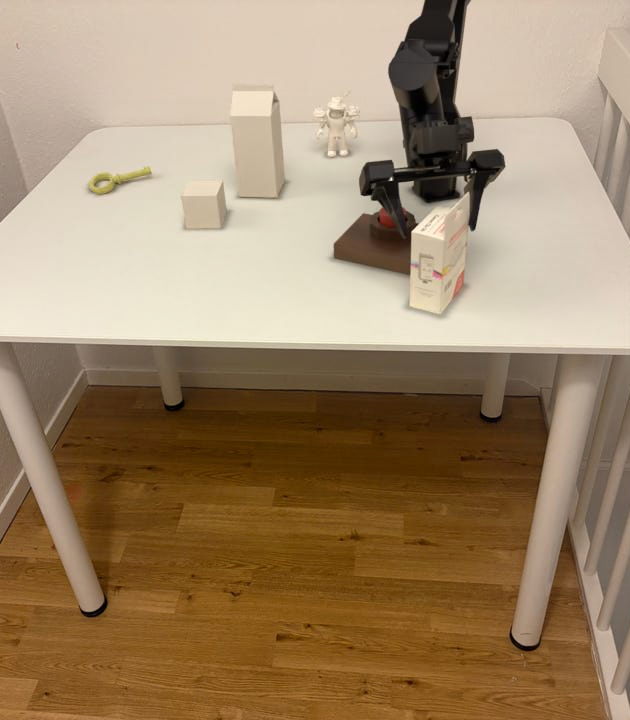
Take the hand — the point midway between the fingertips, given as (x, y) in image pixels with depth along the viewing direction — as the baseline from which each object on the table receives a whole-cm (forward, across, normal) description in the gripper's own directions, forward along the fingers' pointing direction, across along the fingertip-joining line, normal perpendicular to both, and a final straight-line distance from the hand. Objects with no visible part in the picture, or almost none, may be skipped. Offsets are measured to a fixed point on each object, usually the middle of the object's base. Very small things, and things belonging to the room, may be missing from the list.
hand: (439, 234), depth 96 cm
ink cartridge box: (+7, 0, +7) cm, 10 cm away
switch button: (-7, -3, +15) cm, 17 cm away
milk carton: (-22, -21, +36) cm, 47 cm away
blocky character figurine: (-31, -5, +45) cm, 55 cm away
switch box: (-3, -4, +16) cm, 17 cm away
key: (-28, -48, +42) cm, 70 cm away
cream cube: (-15, -32, +28) cm, 45 cm away
